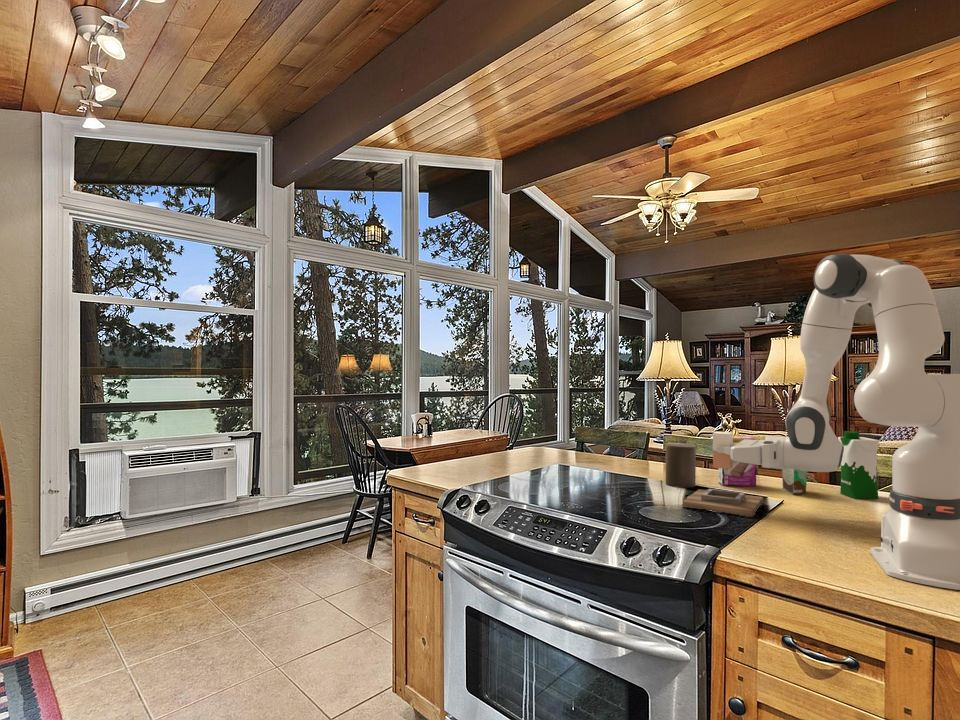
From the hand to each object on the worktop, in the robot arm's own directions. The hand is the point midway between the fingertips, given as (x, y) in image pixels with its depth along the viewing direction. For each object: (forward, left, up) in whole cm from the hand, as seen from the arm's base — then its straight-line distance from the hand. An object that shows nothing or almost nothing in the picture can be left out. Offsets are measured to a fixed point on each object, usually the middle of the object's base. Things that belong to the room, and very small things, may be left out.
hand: (719, 447), depth 158 cm
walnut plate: (0, -1, -17) cm, 17 cm away
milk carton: (+36, -33, -17) cm, 52 cm away
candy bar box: (+32, +1, -17) cm, 36 cm away
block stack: (0, -1, -5) cm, 6 cm away
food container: (+32, -17, -17) cm, 40 cm away
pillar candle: (+22, +17, -17) cm, 33 cm away
